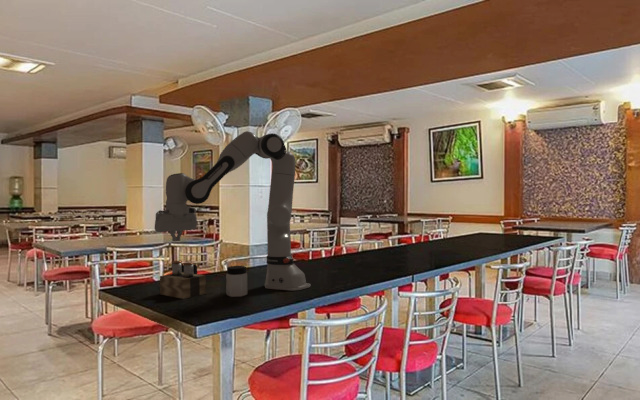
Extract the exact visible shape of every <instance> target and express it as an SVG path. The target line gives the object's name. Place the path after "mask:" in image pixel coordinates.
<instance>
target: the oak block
mask: <svg viewBox="0 0 640 400" xmlns="http://www.w3.org/2000/svg"><path fill="white" fill-rule="evenodd" d="M206 277H207V276H206V275H205V274H204V275H203V274H198V273H197V274H194V277H191V278H184V272H182V275H181V276H172V273H171V274H170V273H169V274H164V275H160V276H159V294H160V295H162V296H166V297H172V298H177V299H182V300H186V299H189V298H192V297H198V296H202V295H206V294H207V278H206Z"/></svg>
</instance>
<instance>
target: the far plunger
mask: <svg viewBox="0 0 640 400" xmlns="http://www.w3.org/2000/svg"><path fill="white" fill-rule="evenodd" d="M182 265H183V261H182V260H172V261H171V269H172V270H171V271H172V272H171V274H172V276H181V275H182Z"/></svg>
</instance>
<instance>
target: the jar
mask: <svg viewBox="0 0 640 400" xmlns="http://www.w3.org/2000/svg"><path fill="white" fill-rule="evenodd" d="M225 279H226V283H225V286H226V290H225V291H226V296H228V297H230V298H233V297H234V298H235V297H236V298H237V297H238V298H239V297H240V298H241V297H244V296H246V295H248V273H247V266H246V265H245V266H244V265H233V266H232V265H231V266H228V267H227V268H226V275H225Z"/></svg>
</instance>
